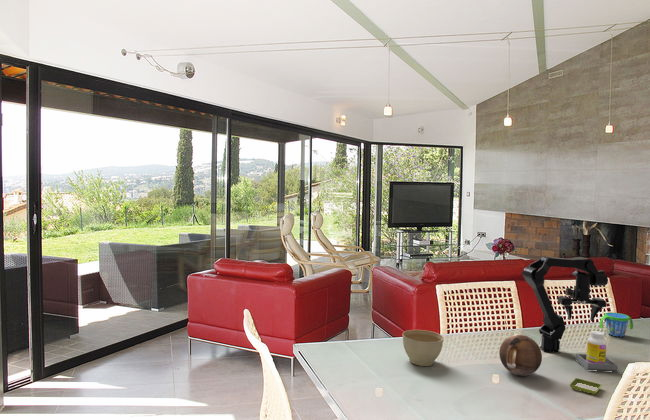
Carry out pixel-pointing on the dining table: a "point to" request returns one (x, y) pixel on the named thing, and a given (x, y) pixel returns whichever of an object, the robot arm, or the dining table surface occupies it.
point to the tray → (607, 366)
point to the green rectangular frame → (586, 384)
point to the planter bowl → (422, 346)
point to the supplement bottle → (596, 348)
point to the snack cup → (616, 323)
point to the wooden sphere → (520, 355)
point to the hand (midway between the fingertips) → (580, 320)
